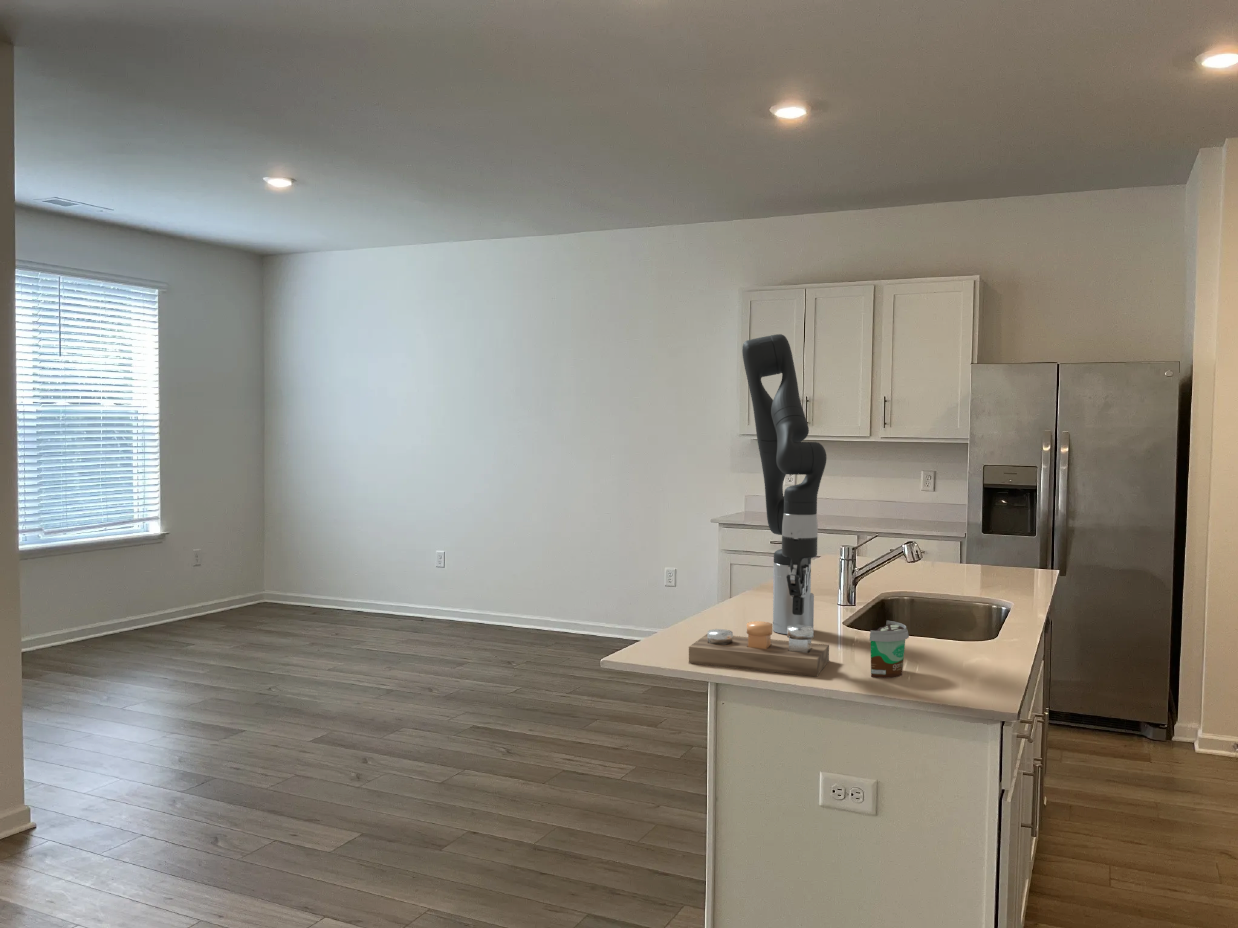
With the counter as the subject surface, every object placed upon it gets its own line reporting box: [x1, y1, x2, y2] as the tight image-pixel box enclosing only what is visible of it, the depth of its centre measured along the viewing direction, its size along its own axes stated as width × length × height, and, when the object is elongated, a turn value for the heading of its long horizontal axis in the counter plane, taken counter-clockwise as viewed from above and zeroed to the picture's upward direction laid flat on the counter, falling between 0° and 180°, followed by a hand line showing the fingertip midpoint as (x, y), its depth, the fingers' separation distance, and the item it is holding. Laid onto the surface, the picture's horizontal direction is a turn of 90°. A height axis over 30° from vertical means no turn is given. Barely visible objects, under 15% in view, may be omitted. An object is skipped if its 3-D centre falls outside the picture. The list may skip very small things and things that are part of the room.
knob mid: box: [746, 620, 773, 649], centre depth 215 cm, size 6×6×5 cm
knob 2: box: [786, 625, 814, 653], centre depth 212 cm, size 6×6×5 cm
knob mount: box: [688, 633, 830, 677], centre depth 215 cm, size 14×28×4 cm, turn 68°
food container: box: [869, 620, 910, 679], centre depth 206 cm, size 12×6×10 cm, turn 148°
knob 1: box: [706, 628, 734, 645], centre depth 219 cm, size 6×6×5 cm
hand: (798, 614), depth 211 cm, fingers closed
